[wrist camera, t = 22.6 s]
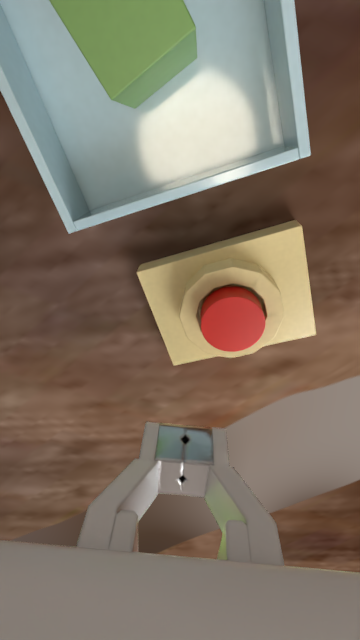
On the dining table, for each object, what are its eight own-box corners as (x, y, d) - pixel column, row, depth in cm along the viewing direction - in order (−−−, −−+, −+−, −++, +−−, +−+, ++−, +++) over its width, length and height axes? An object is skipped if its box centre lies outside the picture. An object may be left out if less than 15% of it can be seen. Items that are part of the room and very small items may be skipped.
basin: (89, 218, 24) (68, 233, 20) (-47, -93, 17) (-119, -159, 13) (291, 151, 21) (311, 155, 17) (237, -261, 14) (250, -408, 10)
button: (209, 344, 25) (209, 357, 24) (193, 294, 23) (193, 305, 22) (266, 331, 24) (270, 344, 23) (255, 278, 22) (259, 289, 21)
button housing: (174, 354, 30) (171, 379, 27) (139, 264, 26) (131, 281, 23) (310, 324, 27) (323, 347, 24) (295, 219, 23) (309, 232, 20)
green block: (135, 109, 20) (111, 100, 15) (86, 28, 18) (40, -14, 13) (198, 57, 18) (196, 27, 13) (152, -36, 17) (129, -113, 11)
